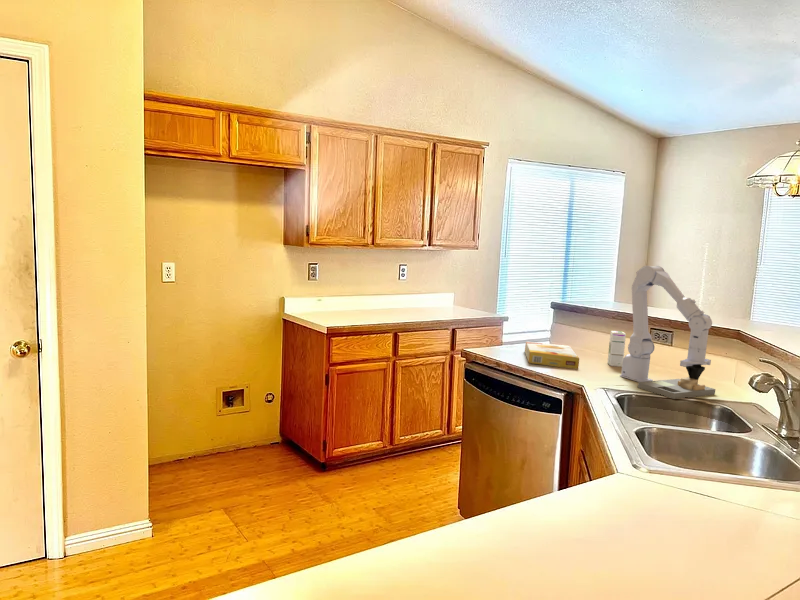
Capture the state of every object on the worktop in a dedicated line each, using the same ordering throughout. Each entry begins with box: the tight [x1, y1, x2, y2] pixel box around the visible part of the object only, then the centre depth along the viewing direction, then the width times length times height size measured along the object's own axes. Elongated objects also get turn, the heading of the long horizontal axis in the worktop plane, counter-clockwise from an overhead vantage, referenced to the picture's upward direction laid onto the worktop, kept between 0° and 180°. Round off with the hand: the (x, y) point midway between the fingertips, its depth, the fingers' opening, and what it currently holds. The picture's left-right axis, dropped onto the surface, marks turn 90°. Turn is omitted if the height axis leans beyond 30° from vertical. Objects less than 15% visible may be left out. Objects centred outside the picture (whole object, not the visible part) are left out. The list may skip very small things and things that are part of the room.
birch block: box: [680, 376, 699, 389], centre depth 211 cm, size 4×4×3 cm
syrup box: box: [607, 330, 627, 368], centre depth 252 cm, size 6×6×14 cm
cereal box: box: [524, 341, 580, 370], centre depth 255 cm, size 20×6×28 cm
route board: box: [637, 378, 716, 400], centre depth 213 cm, size 15×22×4 cm
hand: (692, 385), depth 213 cm, fingers closed, pressing on birch block
